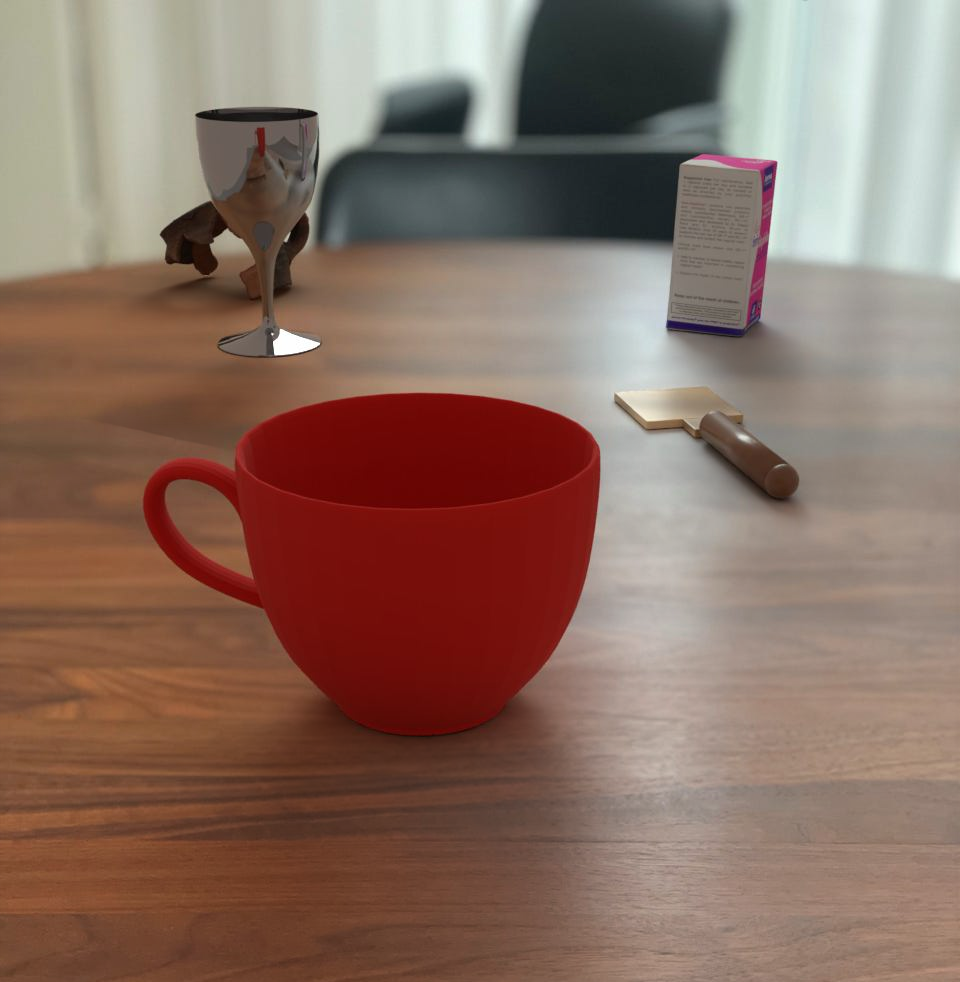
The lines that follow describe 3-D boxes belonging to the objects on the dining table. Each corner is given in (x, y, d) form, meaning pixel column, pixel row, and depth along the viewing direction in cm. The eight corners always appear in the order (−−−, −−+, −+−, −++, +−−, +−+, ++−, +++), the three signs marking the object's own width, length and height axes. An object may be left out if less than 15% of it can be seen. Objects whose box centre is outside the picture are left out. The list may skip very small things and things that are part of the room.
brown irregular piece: (227, 314, 112) (171, 213, 111) (186, 343, 121) (133, 250, 119) (350, 252, 118) (299, 155, 116) (303, 284, 126) (254, 194, 124)
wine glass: (279, 364, 99) (266, 125, 92) (187, 347, 102) (168, 116, 96) (350, 338, 105) (343, 112, 98) (261, 322, 108) (248, 104, 102)
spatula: (613, 400, 92) (614, 371, 91) (705, 393, 93) (707, 365, 92) (731, 508, 75) (734, 474, 75) (841, 498, 77) (845, 465, 76)
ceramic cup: (216, 604, 65) (198, 378, 60) (607, 634, 62) (617, 401, 58) (97, 754, 53) (63, 488, 49) (570, 799, 51) (580, 523, 46)
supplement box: (745, 338, 105) (759, 169, 100) (663, 329, 107) (673, 163, 102) (764, 319, 110) (779, 157, 105) (686, 311, 112) (697, 152, 107)
